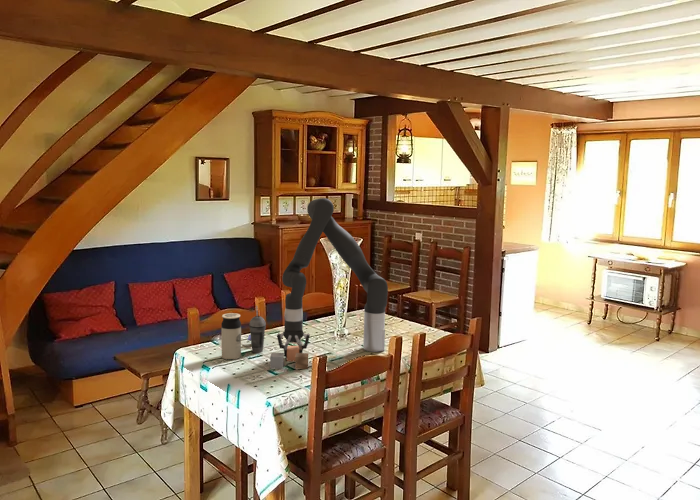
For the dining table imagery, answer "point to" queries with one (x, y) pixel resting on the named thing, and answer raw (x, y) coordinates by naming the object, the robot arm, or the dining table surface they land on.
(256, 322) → the beverage cup
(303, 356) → the walnut block
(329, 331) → the dining table surface
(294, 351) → the terracotta block
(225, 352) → the travel mug
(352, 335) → the dining table surface
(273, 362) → the slate block
